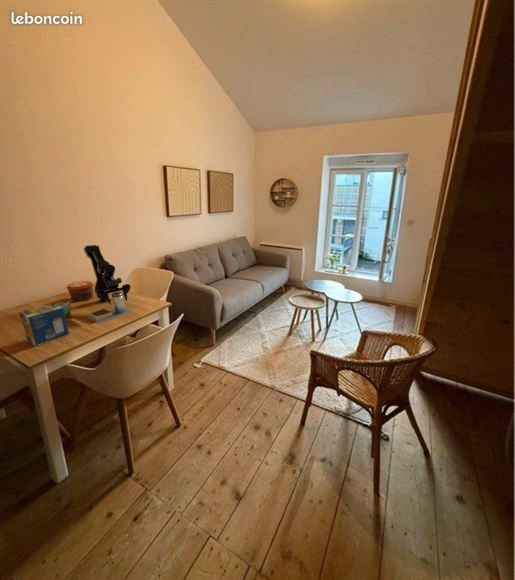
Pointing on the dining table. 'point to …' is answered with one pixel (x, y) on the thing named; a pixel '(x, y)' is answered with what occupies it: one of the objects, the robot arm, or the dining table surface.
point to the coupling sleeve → (118, 302)
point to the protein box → (44, 323)
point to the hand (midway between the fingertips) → (118, 302)
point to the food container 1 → (65, 308)
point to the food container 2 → (80, 290)
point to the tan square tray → (97, 318)
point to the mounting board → (114, 315)
